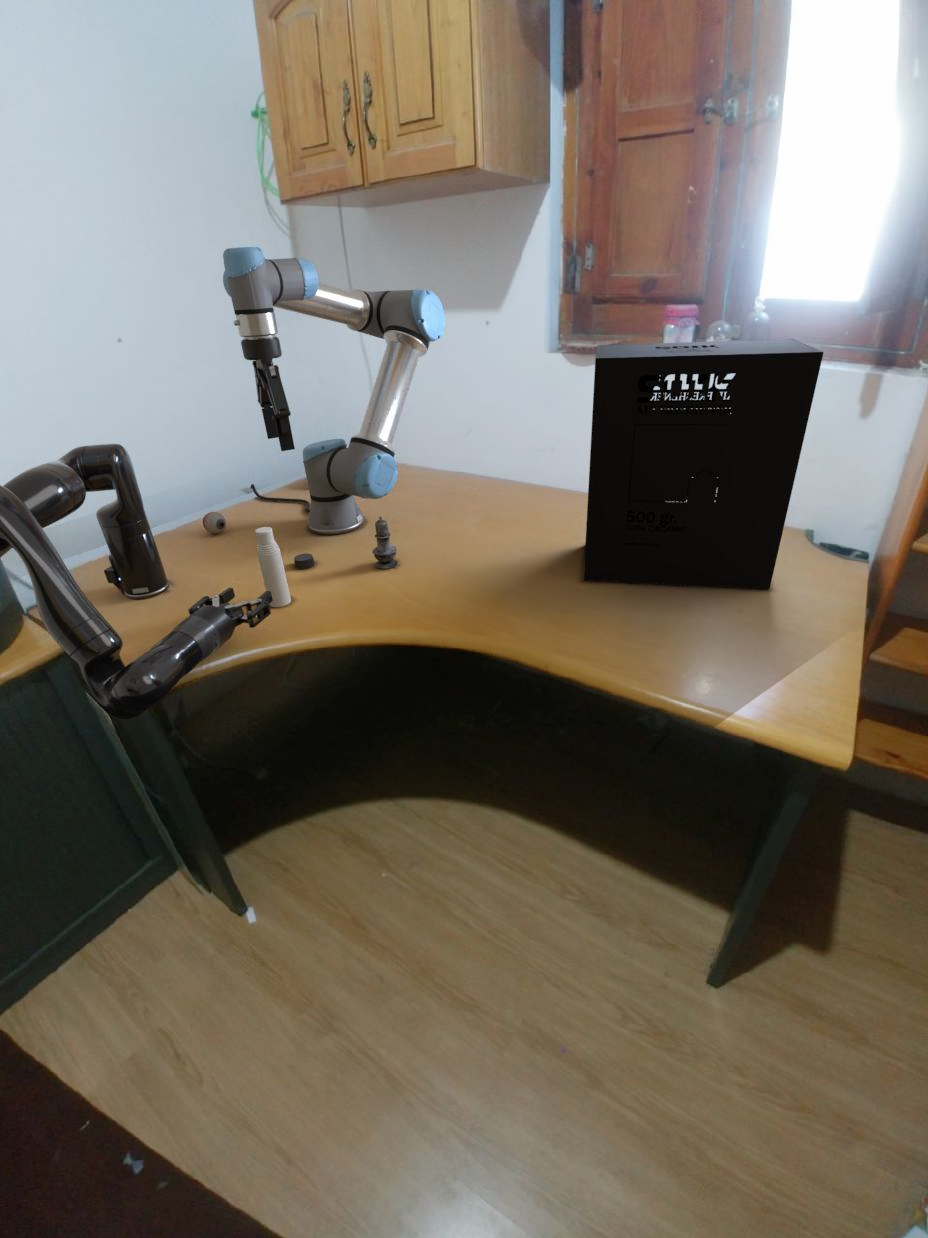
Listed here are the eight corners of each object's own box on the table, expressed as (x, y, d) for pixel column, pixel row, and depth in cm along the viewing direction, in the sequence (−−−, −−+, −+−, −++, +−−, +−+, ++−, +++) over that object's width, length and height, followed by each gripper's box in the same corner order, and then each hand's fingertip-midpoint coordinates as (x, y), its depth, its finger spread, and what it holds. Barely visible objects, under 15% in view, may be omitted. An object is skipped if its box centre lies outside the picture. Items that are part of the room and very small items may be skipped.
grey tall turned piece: (394, 569, 142) (388, 521, 136) (370, 568, 143) (363, 520, 137) (401, 559, 147) (396, 512, 141) (378, 558, 148) (372, 511, 142)
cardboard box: (750, 549, 141) (792, 338, 119) (769, 589, 124) (823, 351, 101) (586, 544, 149) (597, 345, 126) (583, 580, 132) (595, 358, 109)
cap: (316, 561, 149) (314, 552, 148) (312, 568, 145) (310, 560, 144) (297, 561, 149) (296, 553, 148) (293, 569, 145) (291, 561, 144)
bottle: (295, 601, 131) (279, 528, 122) (277, 609, 128) (260, 535, 119) (282, 595, 133) (266, 523, 125) (265, 603, 130) (247, 530, 122)
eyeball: (216, 538, 165) (210, 517, 162) (201, 534, 168) (195, 514, 165) (233, 531, 169) (228, 510, 166) (219, 527, 172) (213, 507, 169)
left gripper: (230, 620, 103) (279, 578, 116) (160, 613, 106) (215, 573, 120) (240, 657, 106) (286, 612, 120) (172, 649, 110) (224, 607, 123)
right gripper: (230, 335, 130) (252, 435, 140) (251, 342, 110) (276, 458, 121) (265, 332, 133) (284, 430, 143) (292, 339, 113) (312, 452, 124)
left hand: (251, 593), depth 120 cm, fingers open, 8 cm apart
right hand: (280, 443), depth 132 cm, fingers open, 13 cm apart
